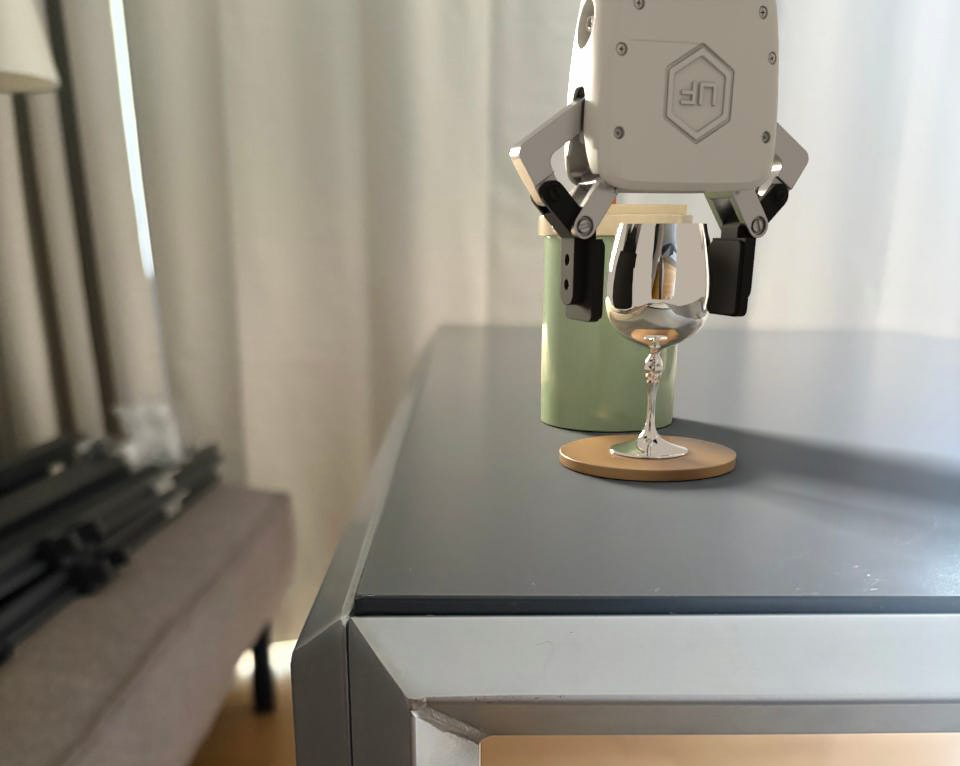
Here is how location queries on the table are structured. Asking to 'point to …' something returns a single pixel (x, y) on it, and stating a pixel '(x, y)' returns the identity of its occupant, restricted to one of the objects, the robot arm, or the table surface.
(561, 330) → the green storage canister
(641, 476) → the coaster
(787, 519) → the table surface
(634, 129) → the robot arm
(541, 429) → the table surface
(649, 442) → the wineglass
